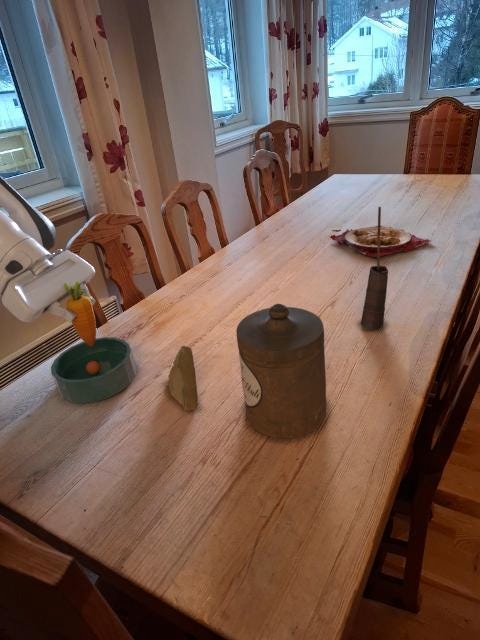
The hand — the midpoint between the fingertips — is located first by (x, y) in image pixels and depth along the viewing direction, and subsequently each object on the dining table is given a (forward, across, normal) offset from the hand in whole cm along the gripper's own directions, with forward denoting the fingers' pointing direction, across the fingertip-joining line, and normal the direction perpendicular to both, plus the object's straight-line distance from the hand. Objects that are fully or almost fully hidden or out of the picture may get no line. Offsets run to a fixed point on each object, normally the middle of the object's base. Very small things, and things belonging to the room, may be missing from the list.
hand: (83, 311), depth 86 cm
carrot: (+6, 0, -6) cm, 9 cm away
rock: (+26, +2, +2) cm, 26 cm away
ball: (+8, -1, -13) cm, 15 cm away
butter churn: (+51, -31, +28) cm, 65 cm away
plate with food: (+49, -89, +26) cm, 105 cm away
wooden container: (+41, +2, +17) cm, 45 cm away
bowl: (+11, 0, -13) cm, 17 cm away
